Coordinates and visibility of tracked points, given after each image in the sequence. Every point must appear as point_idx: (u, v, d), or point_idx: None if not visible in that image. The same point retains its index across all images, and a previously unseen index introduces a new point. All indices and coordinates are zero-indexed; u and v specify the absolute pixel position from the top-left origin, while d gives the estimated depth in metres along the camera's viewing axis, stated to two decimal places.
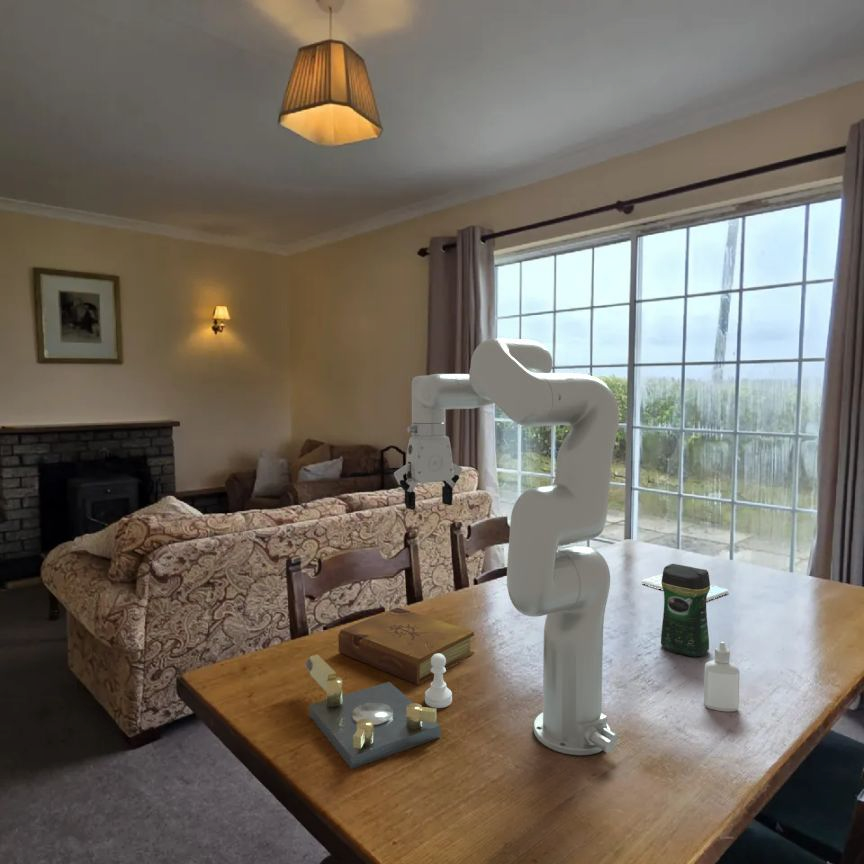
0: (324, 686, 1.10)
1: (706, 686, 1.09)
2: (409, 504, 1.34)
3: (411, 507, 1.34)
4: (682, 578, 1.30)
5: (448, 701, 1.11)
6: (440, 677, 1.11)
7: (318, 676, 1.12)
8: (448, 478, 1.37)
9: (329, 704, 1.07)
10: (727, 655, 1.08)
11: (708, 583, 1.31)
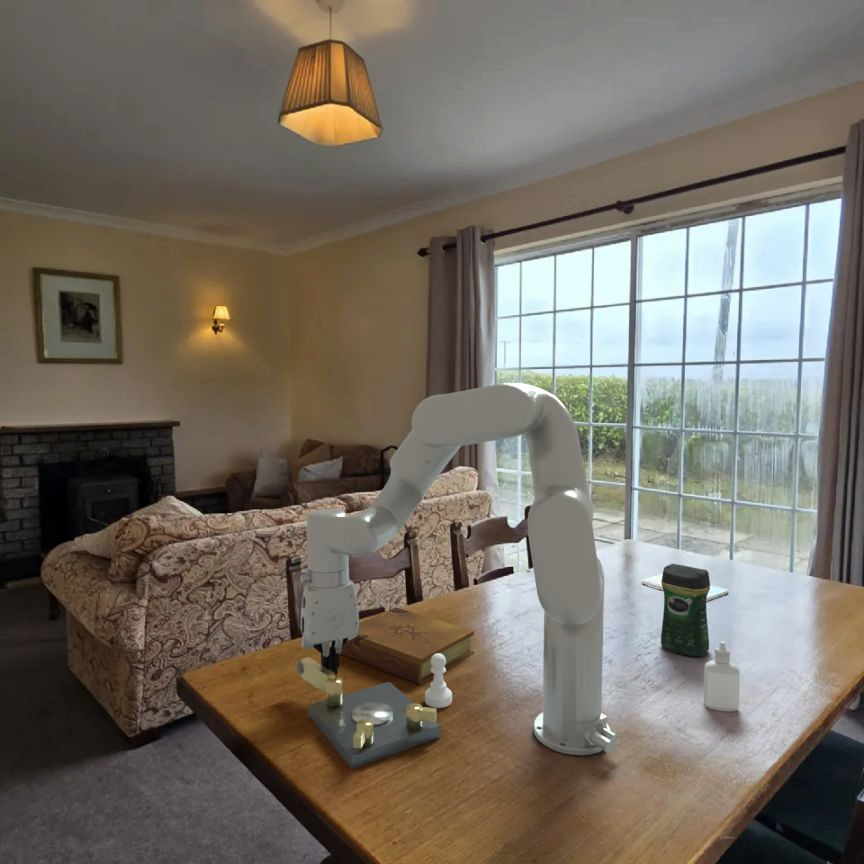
0: (322, 687, 1.09)
1: (706, 686, 1.09)
2: None
3: None
4: (682, 578, 1.30)
5: (448, 701, 1.11)
6: (440, 677, 1.11)
7: (313, 678, 1.11)
8: (352, 634, 1.13)
9: (330, 704, 1.07)
10: (727, 655, 1.08)
11: (708, 583, 1.31)
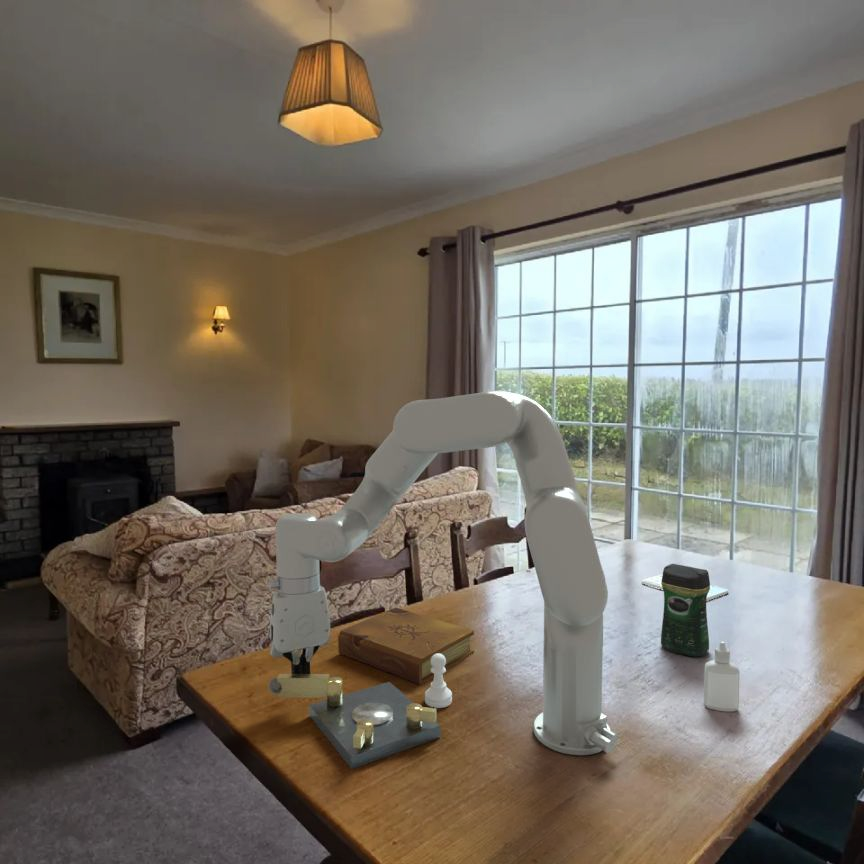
0: (319, 693, 1.07)
1: (706, 686, 1.09)
2: None
3: None
4: (682, 578, 1.30)
5: (448, 701, 1.11)
6: (440, 677, 1.12)
7: (301, 690, 1.07)
8: (323, 641, 1.10)
9: (336, 704, 1.07)
10: (727, 655, 1.08)
11: (708, 583, 1.31)
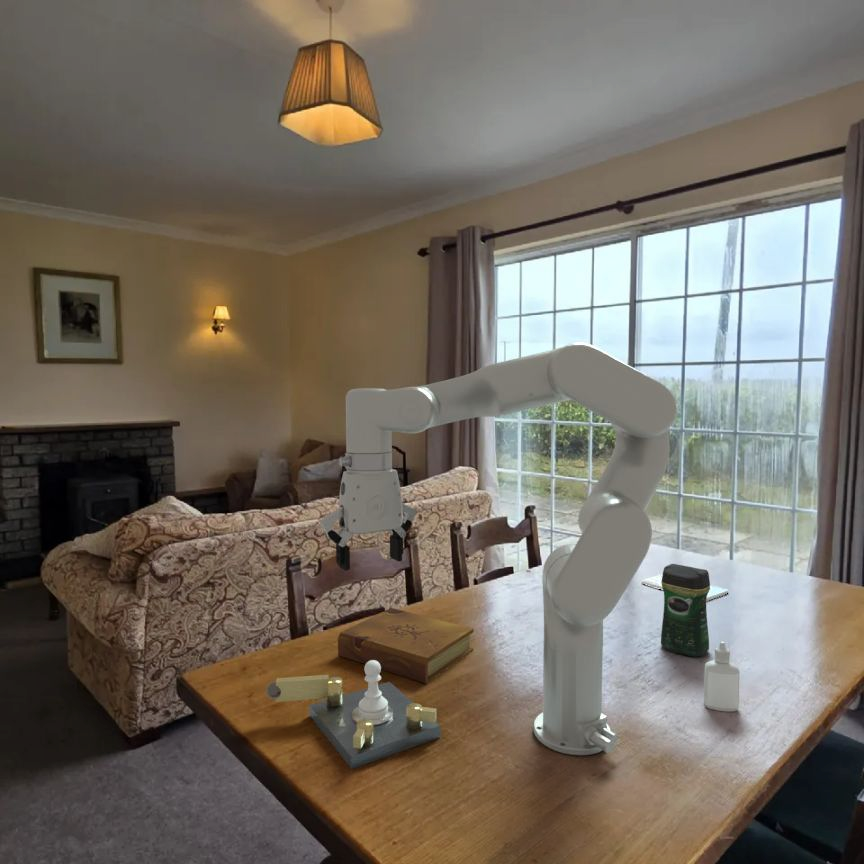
0: (319, 694, 1.07)
1: (706, 686, 1.09)
2: (341, 563, 0.99)
3: (344, 567, 0.99)
4: (682, 578, 1.30)
5: (383, 712, 1.03)
6: (374, 686, 1.03)
7: (301, 692, 1.06)
8: (396, 526, 1.01)
9: (337, 704, 1.07)
10: (727, 655, 1.08)
11: (708, 583, 1.31)
